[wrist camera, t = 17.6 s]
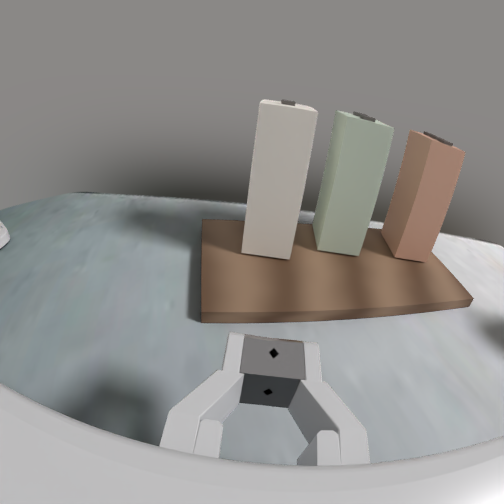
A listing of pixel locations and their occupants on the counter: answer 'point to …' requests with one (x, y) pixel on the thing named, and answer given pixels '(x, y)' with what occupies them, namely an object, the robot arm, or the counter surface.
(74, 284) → the counter surface
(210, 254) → the board
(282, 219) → the tile one
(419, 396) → the counter surface
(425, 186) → the tile three
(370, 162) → the tile two
